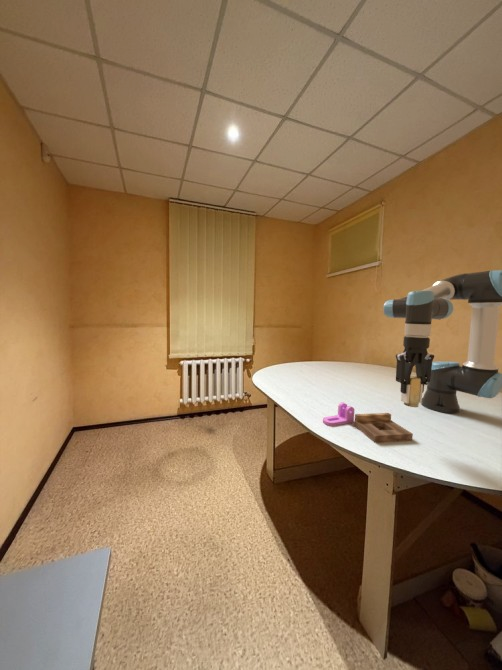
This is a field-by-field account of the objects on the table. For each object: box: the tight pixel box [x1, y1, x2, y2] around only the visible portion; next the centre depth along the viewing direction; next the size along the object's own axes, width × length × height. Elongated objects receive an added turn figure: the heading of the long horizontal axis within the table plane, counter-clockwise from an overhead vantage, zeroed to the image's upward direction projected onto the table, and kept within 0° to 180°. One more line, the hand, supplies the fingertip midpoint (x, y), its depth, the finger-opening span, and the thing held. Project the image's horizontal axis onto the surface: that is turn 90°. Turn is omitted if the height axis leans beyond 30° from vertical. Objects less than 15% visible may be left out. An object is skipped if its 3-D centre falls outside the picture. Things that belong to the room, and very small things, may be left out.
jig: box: [353, 412, 414, 443], centre depth 95 cm, size 15×13×5 cm
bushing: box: [403, 375, 421, 408], centre depth 87 cm, size 4×4×10 cm
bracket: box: [322, 402, 355, 427], centre depth 104 cm, size 13×6×7 cm, turn 111°
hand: (411, 401), depth 87 cm, fingers closed on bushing, 4 cm apart
